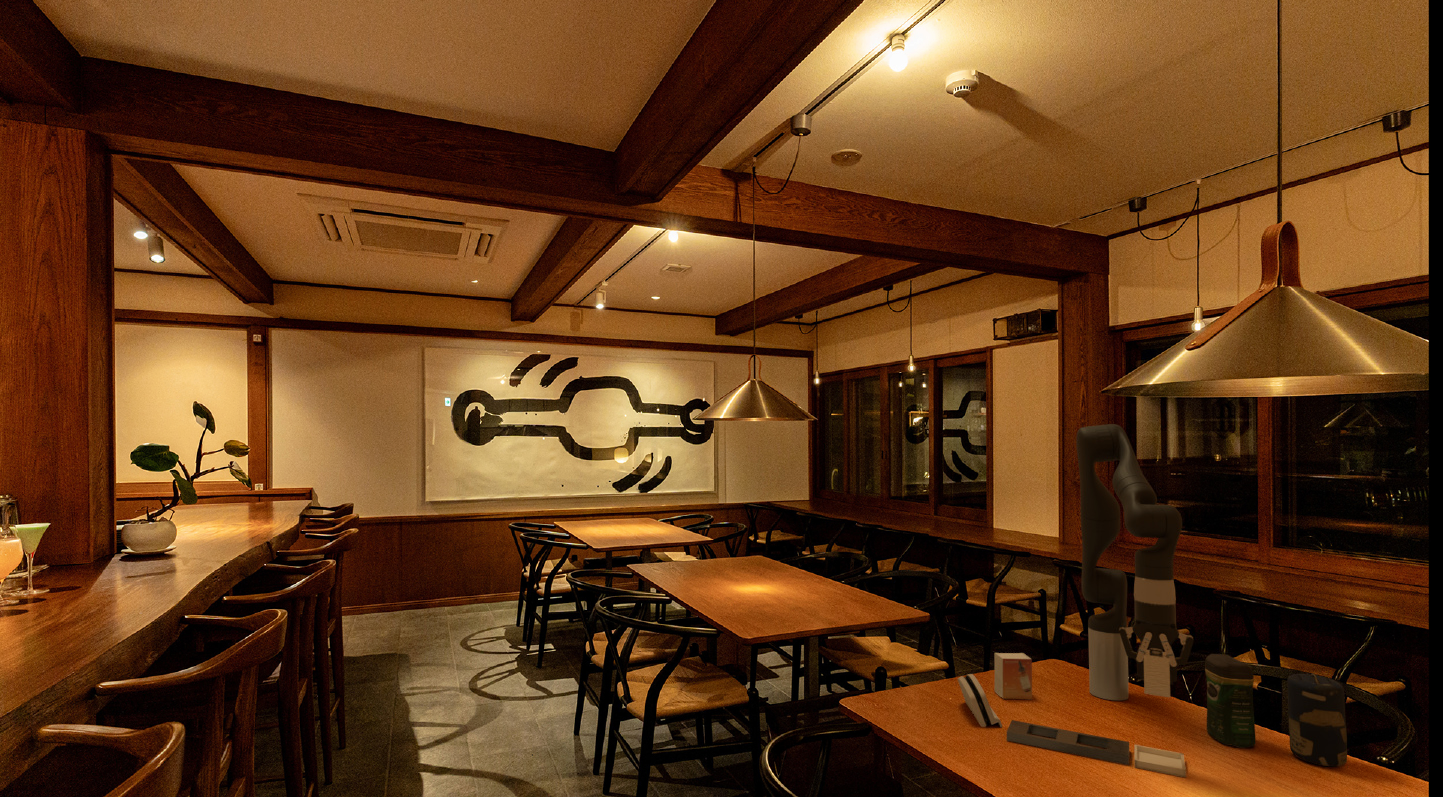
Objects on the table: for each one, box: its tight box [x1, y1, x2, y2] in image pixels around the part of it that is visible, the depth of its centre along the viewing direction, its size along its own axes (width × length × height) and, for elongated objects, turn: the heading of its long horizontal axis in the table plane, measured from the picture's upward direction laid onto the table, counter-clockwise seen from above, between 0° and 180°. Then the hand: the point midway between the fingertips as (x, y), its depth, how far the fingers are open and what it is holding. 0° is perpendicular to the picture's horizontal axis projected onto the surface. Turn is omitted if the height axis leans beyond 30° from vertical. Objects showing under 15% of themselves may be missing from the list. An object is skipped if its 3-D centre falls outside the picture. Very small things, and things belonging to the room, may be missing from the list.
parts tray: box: [1134, 744, 1187, 779], centre depth 152 cm, size 9×9×2 cm
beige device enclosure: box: [957, 673, 1004, 728], centre depth 179 cm, size 17×5×10 cm, turn 174°
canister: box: [1286, 673, 1348, 767], centre depth 155 cm, size 10×10×18 cm
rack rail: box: [1006, 719, 1130, 766], centre depth 160 cm, size 8×24×2 cm, turn 60°
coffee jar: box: [1204, 653, 1257, 749], centre depth 165 cm, size 10×8×19 cm
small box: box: [994, 652, 1033, 700], centre depth 192 cm, size 8×6×10 cm
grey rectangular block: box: [1143, 648, 1171, 699], centre depth 153 cm, size 5×5×9 cm
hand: (1156, 680), depth 153 cm, fingers closed on grey rectangular block, 4 cm apart
